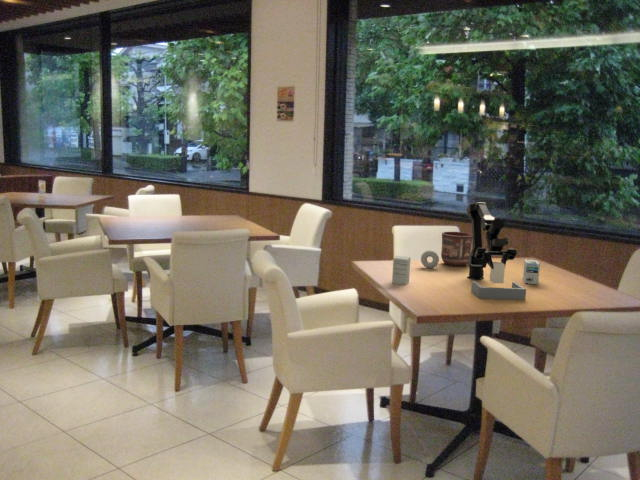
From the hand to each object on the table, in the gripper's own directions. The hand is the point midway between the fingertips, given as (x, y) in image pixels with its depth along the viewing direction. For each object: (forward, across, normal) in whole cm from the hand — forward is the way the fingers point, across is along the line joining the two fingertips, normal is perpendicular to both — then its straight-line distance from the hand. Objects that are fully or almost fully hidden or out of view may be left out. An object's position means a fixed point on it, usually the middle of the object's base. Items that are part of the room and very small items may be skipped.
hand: (498, 268), depth 292 cm
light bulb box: (-11, +27, +30) cm, 42 cm away
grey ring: (-31, -19, +49) cm, 61 cm away
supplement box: (-5, -42, +23) cm, 48 cm away
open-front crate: (+10, 0, +7) cm, 12 cm away
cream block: (+4, 0, +6) cm, 7 cm away
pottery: (-39, -1, +58) cm, 70 cm away
